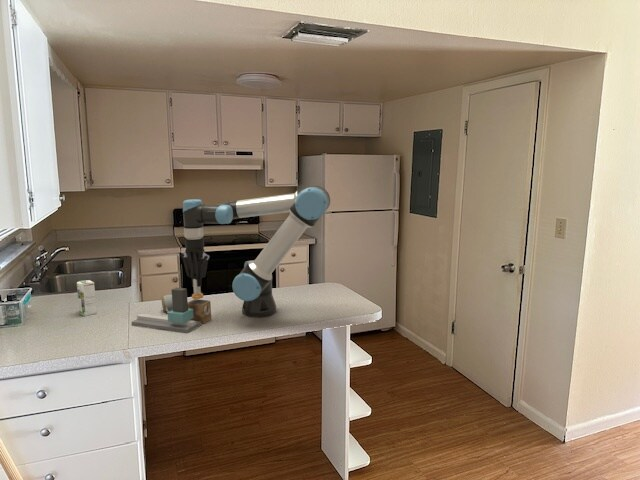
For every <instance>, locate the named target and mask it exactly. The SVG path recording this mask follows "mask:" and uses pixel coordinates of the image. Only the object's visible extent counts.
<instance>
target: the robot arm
mask: <svg viewBox="0 0 640 480" xmlns="http://www.w3.org/2000/svg"><path fill="white" fill-rule="evenodd" d="M330 205H331V196H330V193H329V192H328V191H327V189H325V188H323V187H322V186H318V185H315V186H310V187H306V188H304V189H299V190H296V191H295V192H293V193H286V194H280V195H279V194H277V195H271V196H264V197H256V198H247V199H239V200H231V201H230V200H227V201H224V202H222V203H218V204H203V201H202V199H197V198H196V199H195V198H194V199H185V200H184V201H183V202H182V213H183V214H182V216H183V218H182V219H183V237H184V238H185V239H184V247H185V251H184V252H183V253H181V254H179V255H180V258H181V259H182V261H183V266H184V269H185V273H186V276H187V277H188V278H190V279H191V286H192V287H193V294H194V295H198V294H200V293H202V290H201V289H202V288H201V287H202V286H203V285H202V284H203V283H202V282H203V281H202V279H203V278H205V277H206V276H207V270H208V264H209V259H210V258H211V255H210V254H207V253H206V252H205V240H204V239H205V238H204V224H215V225H216V224H217V225H218V224H220V225H226V224H227V225H229V224H231V223H232V221H233V220H237V219H242V218H243V219H245V218H250V217H258V216H268V215H277V214H285V213H289V214H288V216H287V217H286V219H285V220H284V221H283V223H282V224H281V225H280V227H279V228H278V229H277V231H275V234H274V235H273V236H272V237H271V239H270V240H269V241H268V242H267V244H266V245H265V246H264V247H263V249H262V250H261V251H260V253H259V254H258V255H257V257H256V258H255V259H254V260H247V261H245V262H244V265H243V269H242V270H241V271H240V273H239V274H237V275H236V276H235V277H234V279H233V281H232V286H231V287H232V291H233V293H234V295H235V296H236V297H237V298H238V299H239V300H241V301H243V303H242V306H241V313H242V315H243V316H246V317H250V318H252V317H253V318H263V317H269V316H272V315H275V314H276V313H277V310H278V309H277V304H276V301H275V298H274V295H273V274H272V273H273V272H274V271H275V270H276V268H277V267H278V266H279V264H280V263H281V262H282V261H283V260H284V258H285V257H286V256H287V254H288V253H289V251H290V250H291V249H292V248H293V246H295V244H296V243H297V241H298V240H299V239H300V238H301V237H302V235H303V234H304V233H305V232H306V230H307V229H308V228H309V229H310V228H314V226H315V225H316V224H317V222H318V221H319V220H320V219H321V217H323V216H324V214H325V213H326V212H327V210H328V209H329V208H330Z"/></svg>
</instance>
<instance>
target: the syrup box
mask: <svg viewBox="0 0 640 480" xmlns="http://www.w3.org/2000/svg"><path fill="white" fill-rule="evenodd" d="M76 289H77V303H78V304H77V305H78V312H79V314H80V315H81V316H83V317H87V316H92V315H94V314H95V315H96V314H97V313H98V311H97V300H96V289H95V282H94V281H92V280H90V279H88V280H87V279H86V280H79V281H77V282H76Z"/></svg>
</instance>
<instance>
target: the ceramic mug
mask: <svg viewBox="0 0 640 480" xmlns="http://www.w3.org/2000/svg"><path fill="white" fill-rule="evenodd" d="M161 306H162V307H161V308H162V310H163V312H165V311H167V312H166V313H167V314H168V312H170V311H172V310H173V305H172V293H171V294H166V295H163V296H161Z"/></svg>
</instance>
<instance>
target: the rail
mask: <svg viewBox="0 0 640 480" xmlns="http://www.w3.org/2000/svg"><path fill="white" fill-rule="evenodd" d="M136 318H137V319H134V320H132V321H131V326H133V325H134V327H140V326H141V327H142V328H147V327H149V328H148V329H154V328H156V330H161V329H163V330H162V331H168V332H169V331H170V332H177V333H184V334H189V333H191V332H193V331H194V330H195V329H197V328H200V326H202V324H201V322H199V321H192V320H189V321H187V322H185V323H183V324H182V323H175V322H168V316H160V315H152V314H146V313H140V314H137V315H136ZM141 327H140V328H141Z"/></svg>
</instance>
